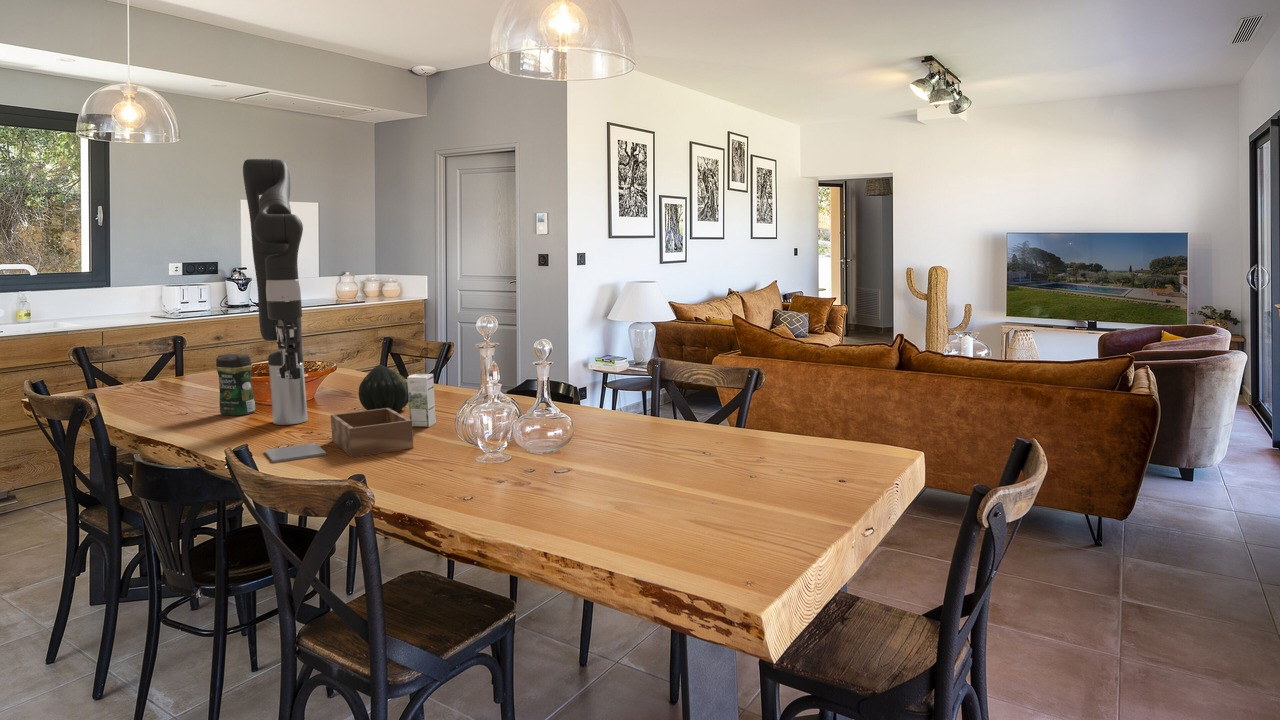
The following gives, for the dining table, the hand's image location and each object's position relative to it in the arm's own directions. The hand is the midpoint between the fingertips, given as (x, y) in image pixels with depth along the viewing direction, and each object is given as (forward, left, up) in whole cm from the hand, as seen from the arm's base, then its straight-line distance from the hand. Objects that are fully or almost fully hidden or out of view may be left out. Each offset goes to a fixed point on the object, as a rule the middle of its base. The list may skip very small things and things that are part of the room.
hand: (289, 368), depth 191 cm
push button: (-1, 0, -3) cm, 3 cm away
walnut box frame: (+2, +18, -21) cm, 28 cm away
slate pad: (0, 0, -21) cm, 21 cm away
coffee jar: (-63, -5, -21) cm, 67 cm away
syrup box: (-12, +36, -21) cm, 43 cm away
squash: (-39, +33, -21) cm, 55 cm away
